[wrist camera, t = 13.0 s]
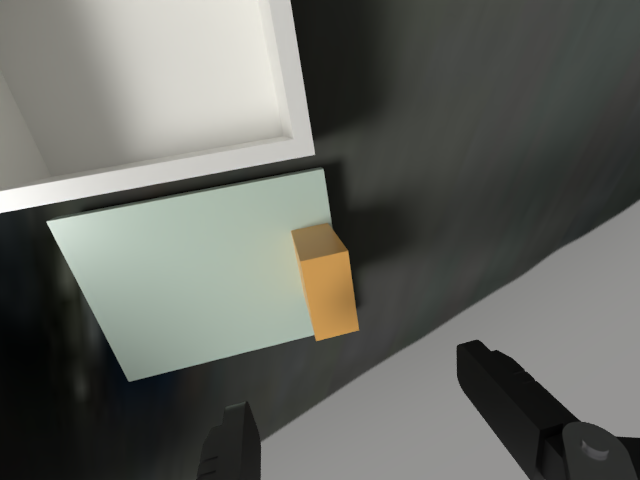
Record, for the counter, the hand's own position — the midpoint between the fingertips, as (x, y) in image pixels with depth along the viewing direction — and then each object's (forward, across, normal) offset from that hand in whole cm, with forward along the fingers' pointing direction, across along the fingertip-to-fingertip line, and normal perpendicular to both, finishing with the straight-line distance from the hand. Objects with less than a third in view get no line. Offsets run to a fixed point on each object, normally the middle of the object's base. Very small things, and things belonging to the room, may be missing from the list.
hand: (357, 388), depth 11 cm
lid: (+13, +6, -1) cm, 14 cm away
